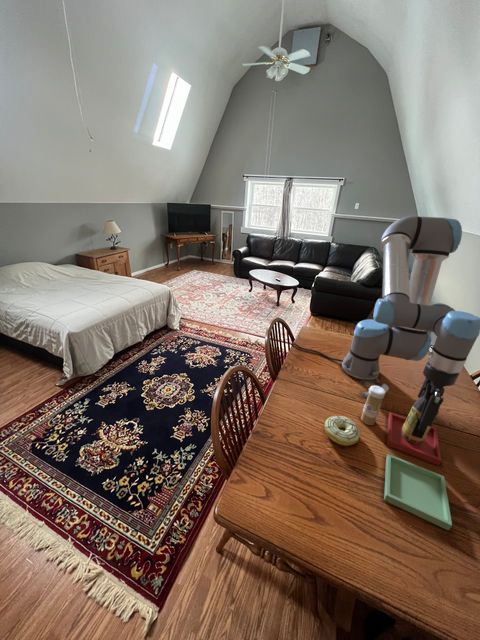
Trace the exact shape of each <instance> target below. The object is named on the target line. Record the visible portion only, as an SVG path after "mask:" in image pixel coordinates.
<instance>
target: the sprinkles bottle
mask: <svg viewBox="0 0 480 640" xmlns="http://www.w3.org/2000/svg"><path fill="white" fill-rule="evenodd" d="M369 388H370V389H369ZM369 388H368V389H369V390H368V391H369V395H368V397H367V399H365V400H366V401H365V403H364V406H363V409H362V413H361V415H360V421H362V423H364V424H365V425H368V426H373V425H375V423H376V419H377V417H378V414H379V411H380V409H381V406H382V403H383V400H384V399H385V396H386V393H385V390H384V389H383V388H381V387H379V386H375V385H374V386H371V387H369Z"/></svg>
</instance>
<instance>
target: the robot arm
mask: <svg viewBox="0 0 480 640" xmlns="http://www.w3.org/2000/svg"><path fill="white" fill-rule="evenodd" d="M462 228H463V227H462V225H461V222H460V221H459V220H458V219H455V218H449V217H445V216H444V217H440V216H439V217H438V216H417V215H409V216H403V217H402V218H399V219H397V220H396V221H394V222H393V223H391V224H390V225H389V226H388V227H387V228H386V229H385V231H384V232H383V234H382V236H381V239H380V250H381V252H382V253H383V255H382V257H383V258H382V259H383V260H382V262H383V263H382V298H378V299H377V300H376V302H375V304H374V309H373V314H372V315H373V316H372V317H373V319H369V318H368V319H363V320H361V321H358V322H357V324H356V325H355V329H354V331H353V336H352V341H351V345H350V349H349V352H348V353H347V354H346V356H345V357H344V358H343V359H339V358H334V357H331V356H328V355H326V354H325V353H322V352H320V351H318V350H315V349H310V348H305V347H301V346H300V345H298V344H297V343H295V342H292V343H290V345H291V346H293V345H294V346H296V348H298V349H300V350H303V351H308V352H312V353H316V354H319V355H321V356H323V357H325V358H326V359H329V360H331V361H336V362H340V363H341V369H342V371H343V372H344V373H345V374H346V375H347V376H349V377H350V378H353V379H356V380H359V381H362V380H364V379H371V380H373V381H375V380H376V381H377V378H378V379H379V376H380V361H379V359H380V356H387V357H391V358H396V359H401V360H405V361H412V362H413V361H414V362H419V361H421V360H423V359H424V358H425V357H426V356H427V355H428V356H429V357H428V359H427V362H426V364H425V365H424V368H423V371H422V374H423V376H424V378H425V379H424V381H423V383H422V385H421V387H420V389H419V391H418V394H417V398H418V399H419V398H421V397H422V396H423V395H424V394H425V396H424V397H425V398H426V400H425V403H424V406H423V409H422V412H421V415H420V418H419V417H417V418H416V420H417V422H416V424H415V426H414V428H413V431H412V433H411V435H412V436H415V437H418V438H421V439H422V437H423V435H424V433H425V431H426V429H427V427H428V426H430V427H433V424H434V422H435V420H436V418H435V417H437V416H436V414H437V412H438V410H440V407H441V406H442V404H443V402H444V397H443V396H442V394H443V393H444V394H445V387H451V386H454V385H455V384H456V382H457V380H458V378H459V376H460V373H461V372H462V370H463V368H464V366H465V364H466V361H467V359H468V357H469V355H470V352H471V350H472V349H473V347H474V345H475V342H476V341H477V339H478V337H479V336H480V317H479V316H478V315H475V314H473V313H470V312H466V311H461V310H456V309H454V308H453V307H451V306H449V305H448V304H446V303H440V302H438V303H433V304H432V299H433V295H434V291H435V289H436V284H437V281H438V277H439V274H440V271H441V267H442V264H443V262H444V261H445V260H446V259H448V258H449V257H450V254H453V253H455V252H456V251H457V250H458V249H459V246H460V245H461V242H462V241H461V240H462V237H463V229H462ZM409 250H412V251H411V253H410V255H411V257H412V258H413V259H414V261H413V264H412V268H411V272H410V271H409V268H410V267H409ZM390 326H392V327H390ZM428 332H431V333H434V335H435V336H436V339H435V342H434V344H433V346H432V349H431V351H430V348H431V345H432V336H431V334H429V333H428ZM426 389H427V390H426ZM425 392H426V393H425ZM444 394H443V395H444ZM428 395H429V396H430V397H429V396H428ZM438 413H439V412H438ZM437 415H438V414H437ZM434 419H435V420H434ZM433 421H434V422H433Z"/></svg>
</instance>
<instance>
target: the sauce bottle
mask: <svg viewBox="0 0 480 640" xmlns="http://www.w3.org/2000/svg"><path fill="white" fill-rule="evenodd" d="M426 390H427V389H426ZM425 393H426V392H425ZM444 394H445V392H444V393H443V394H442V396H441V397H443V396H444ZM424 396H425V394H424V395H423V396H422V397H421V398H419V397H418V398H417V399H416V401H415V402H414V403H413V405H412V407H411V409H410V411H409V412H408V415H407V417H406V418H407V419H406V421H405V423H404V425H403V427H402V432H401V433H402V435H403V436H404V438H405V439H407V440H408V441H410V442H412V443H415V444H416V443H417V444H418V443H421V442H422V441H423V440H424V439H425V437H426V435H427V433H428V431H429V430H430V428H431V427H432V426H431V427H430V426H428V427H427V429H426V431H425V433H424V435H423V437H422V439H421V438H418V437H415V436H412V435H411V433H412V431H413V428H414V426H415V424H416V422H417V420H416V418H417V417H419V418H420V415H421V412H422V409H423V406H424V403H425V400H426V398H425V397H424ZM428 396H429V395H428ZM429 397H430V396H429ZM439 410H440V409H439ZM439 410H438V412H437V414H436V417H437V416H438V414H439V412H440V411H439ZM436 417H435V419H434V421H433V423H434V422H435V421H436Z"/></svg>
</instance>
